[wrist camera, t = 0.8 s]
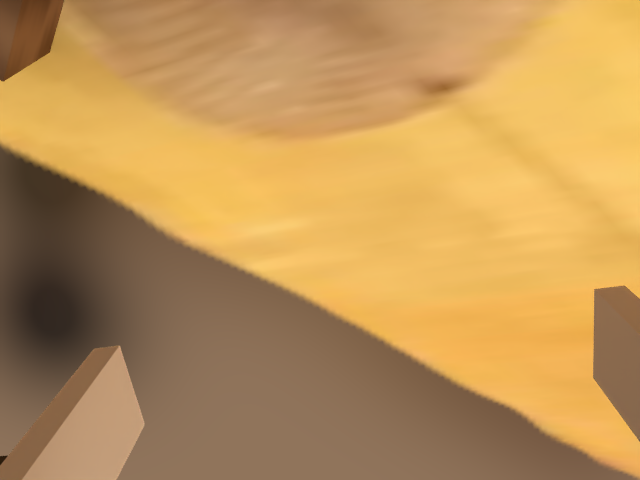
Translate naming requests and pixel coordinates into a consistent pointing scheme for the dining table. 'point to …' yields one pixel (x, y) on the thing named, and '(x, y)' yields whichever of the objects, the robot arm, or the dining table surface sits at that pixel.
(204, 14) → the dining table surface
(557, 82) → the dining table surface
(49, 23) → the walnut block
